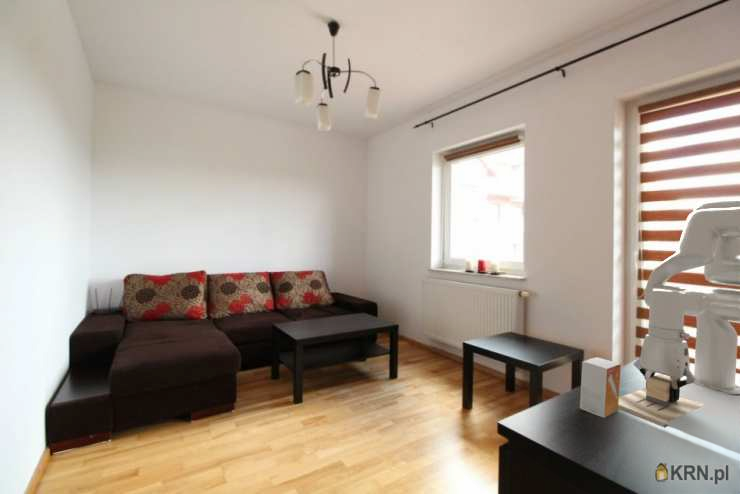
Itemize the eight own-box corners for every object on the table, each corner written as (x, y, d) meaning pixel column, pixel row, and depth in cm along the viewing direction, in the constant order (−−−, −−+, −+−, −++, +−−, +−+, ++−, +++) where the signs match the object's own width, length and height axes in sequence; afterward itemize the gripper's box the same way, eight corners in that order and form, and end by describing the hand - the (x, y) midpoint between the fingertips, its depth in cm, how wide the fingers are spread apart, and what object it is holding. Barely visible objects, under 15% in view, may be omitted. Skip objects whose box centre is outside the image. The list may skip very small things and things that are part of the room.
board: (649, 390, 110) (649, 386, 110) (704, 408, 99) (704, 404, 99) (608, 405, 99) (608, 400, 99) (664, 427, 88) (664, 422, 88)
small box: (604, 419, 91) (607, 368, 91) (579, 408, 97) (581, 361, 96) (619, 411, 96) (621, 363, 95) (593, 401, 101) (595, 356, 101)
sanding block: (658, 394, 104) (659, 374, 104) (677, 401, 100) (678, 380, 100) (645, 399, 101) (647, 378, 100) (665, 406, 97) (666, 384, 96)
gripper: (710, 339, 94) (706, 407, 95) (637, 325, 109) (634, 384, 110) (698, 343, 91) (694, 413, 91) (624, 327, 105) (621, 388, 106)
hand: (661, 396), depth 100 cm, fingers closed on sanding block, 4 cm apart
